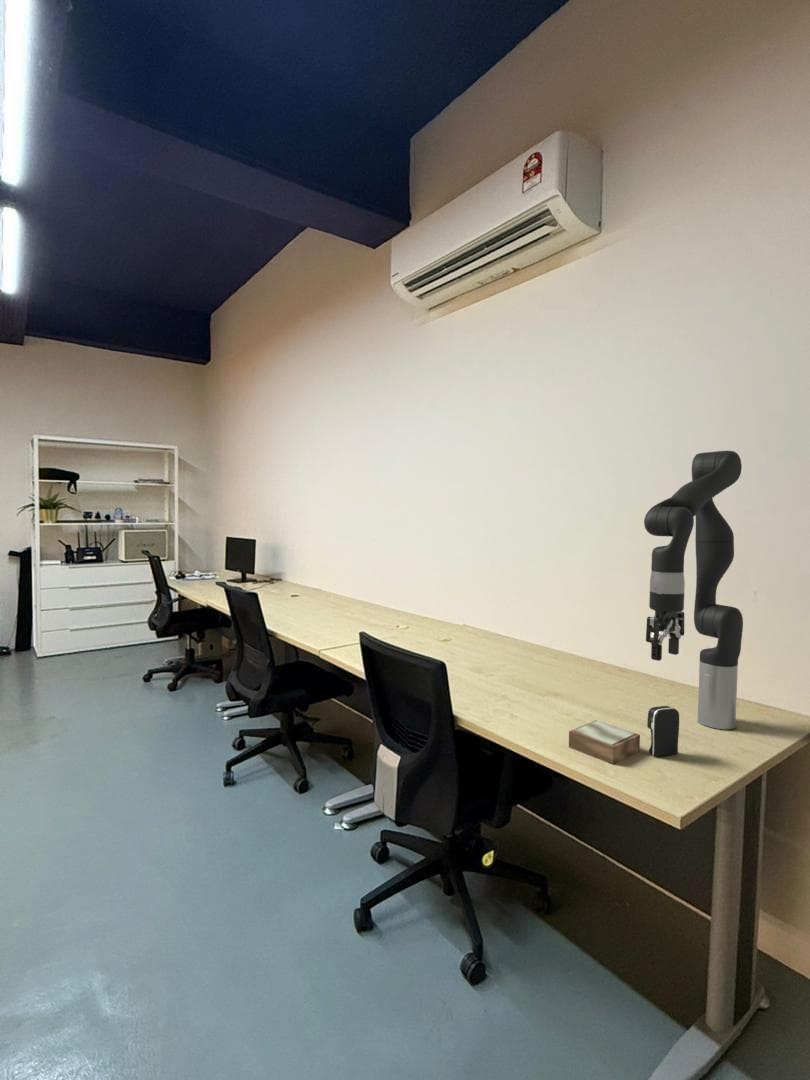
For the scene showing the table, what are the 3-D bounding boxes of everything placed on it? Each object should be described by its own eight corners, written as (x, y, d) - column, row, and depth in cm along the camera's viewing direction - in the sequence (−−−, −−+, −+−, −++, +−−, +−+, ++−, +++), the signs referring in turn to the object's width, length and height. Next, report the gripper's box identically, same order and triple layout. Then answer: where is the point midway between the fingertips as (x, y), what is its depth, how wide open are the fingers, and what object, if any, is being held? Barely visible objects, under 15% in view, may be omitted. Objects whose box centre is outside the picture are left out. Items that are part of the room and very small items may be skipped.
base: (595, 735, 145) (596, 719, 145) (639, 750, 135) (639, 733, 135) (568, 747, 137) (569, 730, 137) (612, 764, 128) (613, 746, 128)
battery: (667, 748, 137) (669, 703, 136) (679, 754, 133) (680, 708, 133) (644, 751, 135) (645, 705, 135) (655, 758, 131) (656, 711, 131)
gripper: (665, 586, 140) (663, 649, 140) (636, 591, 131) (634, 658, 131) (696, 589, 134) (694, 655, 135) (668, 594, 125) (666, 665, 126)
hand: (665, 656), depth 133 cm, fingers open, 8 cm apart
